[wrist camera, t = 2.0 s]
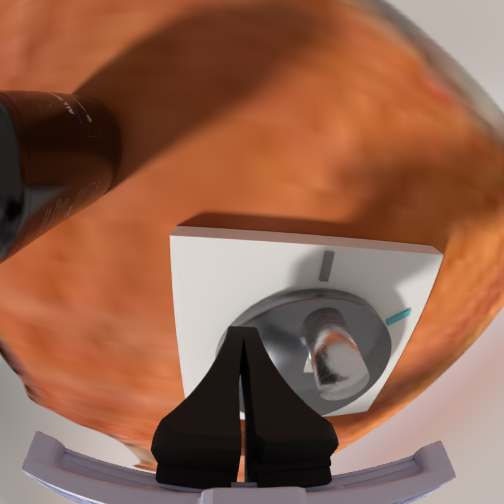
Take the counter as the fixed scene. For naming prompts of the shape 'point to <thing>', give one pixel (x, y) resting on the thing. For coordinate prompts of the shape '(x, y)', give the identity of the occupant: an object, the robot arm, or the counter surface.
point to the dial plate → (290, 286)
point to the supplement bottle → (51, 161)
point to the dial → (321, 344)
